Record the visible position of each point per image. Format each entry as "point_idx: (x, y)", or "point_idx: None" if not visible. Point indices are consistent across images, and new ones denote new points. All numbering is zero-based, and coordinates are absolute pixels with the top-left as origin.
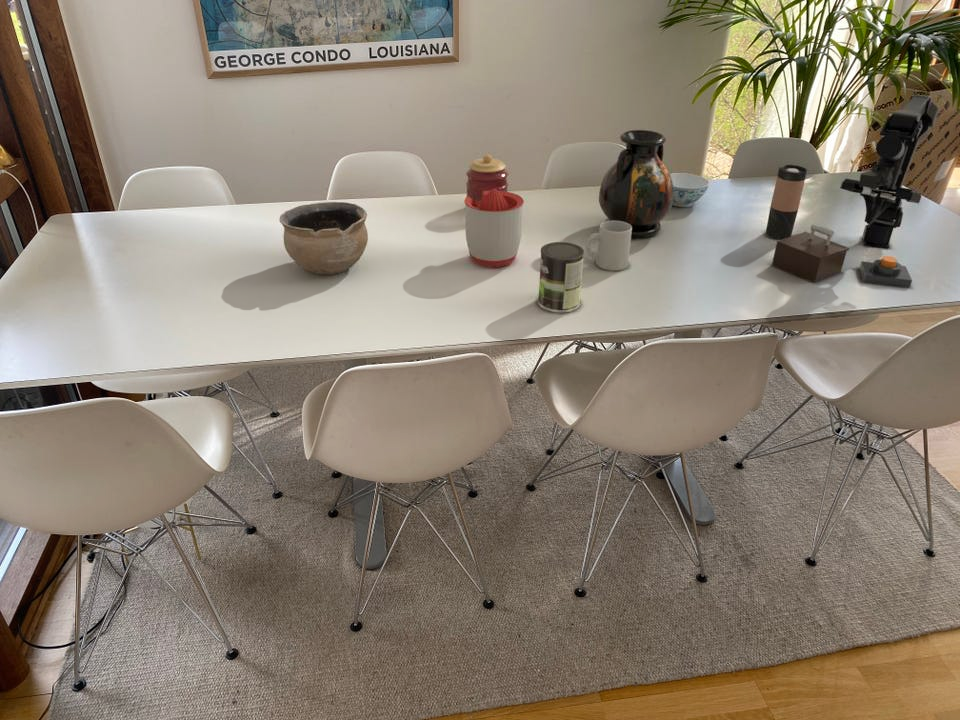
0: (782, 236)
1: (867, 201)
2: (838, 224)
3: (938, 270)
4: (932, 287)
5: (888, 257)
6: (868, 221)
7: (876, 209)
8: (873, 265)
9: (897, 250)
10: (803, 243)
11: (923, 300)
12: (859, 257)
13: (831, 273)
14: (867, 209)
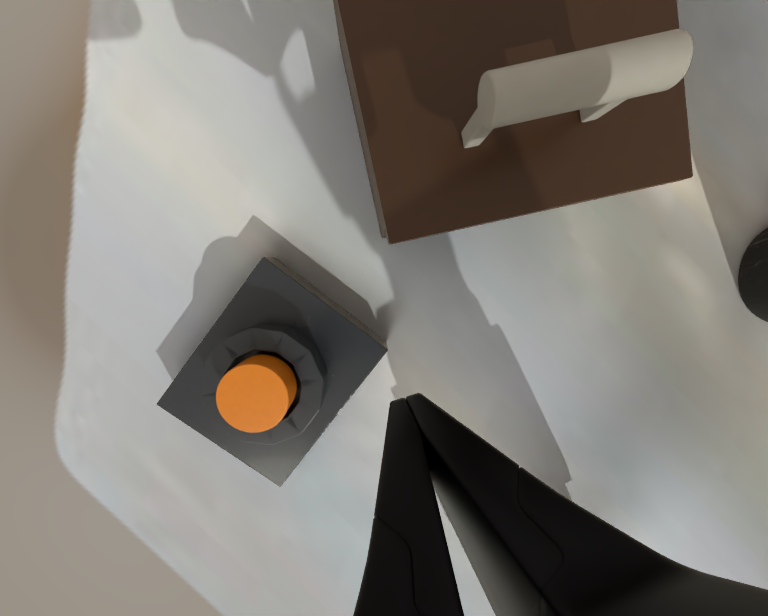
0: (763, 249)
1: (639, 588)
2: (746, 582)
3: (269, 603)
4: (157, 474)
5: (269, 407)
6: (409, 406)
7: (381, 547)
8: (305, 340)
9: (463, 603)
10: (554, 7)
11: (73, 355)
12: (470, 424)
13: (365, 161)
14: (509, 479)
